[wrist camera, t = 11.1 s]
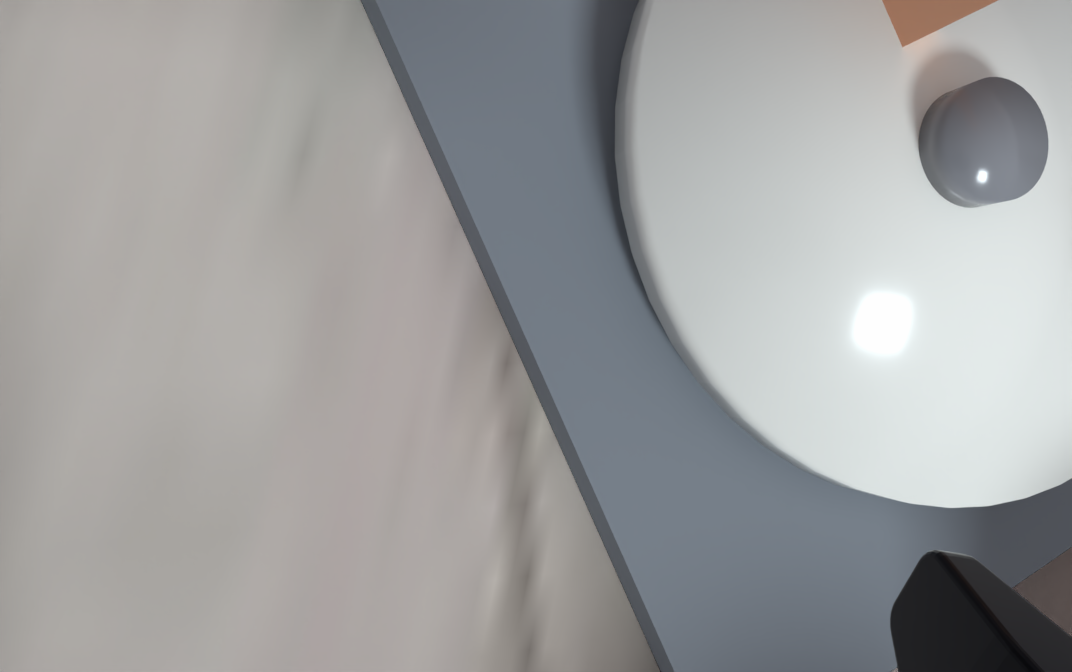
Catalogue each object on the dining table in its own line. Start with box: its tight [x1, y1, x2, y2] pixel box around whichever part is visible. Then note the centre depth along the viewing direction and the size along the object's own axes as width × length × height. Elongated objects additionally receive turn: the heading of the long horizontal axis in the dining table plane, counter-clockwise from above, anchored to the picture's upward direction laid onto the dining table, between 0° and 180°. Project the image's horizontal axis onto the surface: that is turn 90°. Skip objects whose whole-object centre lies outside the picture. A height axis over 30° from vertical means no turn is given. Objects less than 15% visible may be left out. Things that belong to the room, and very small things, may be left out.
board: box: [361, 0, 1072, 672], centre depth 24 cm, size 24×24×1 cm
